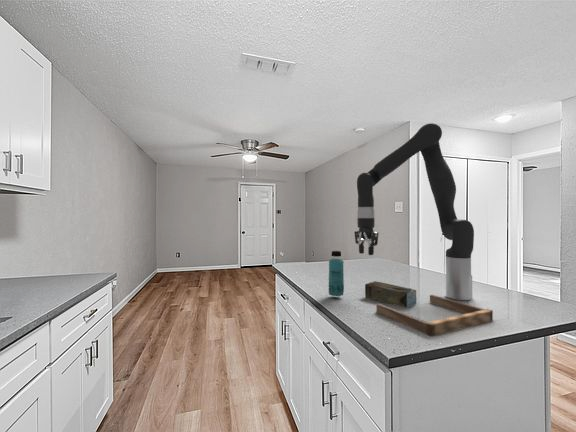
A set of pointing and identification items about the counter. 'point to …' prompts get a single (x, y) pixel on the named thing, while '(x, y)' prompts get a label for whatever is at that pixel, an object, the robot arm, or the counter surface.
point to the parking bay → (444, 325)
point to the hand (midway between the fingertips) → (366, 254)
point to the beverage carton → (391, 294)
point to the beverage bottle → (336, 275)
